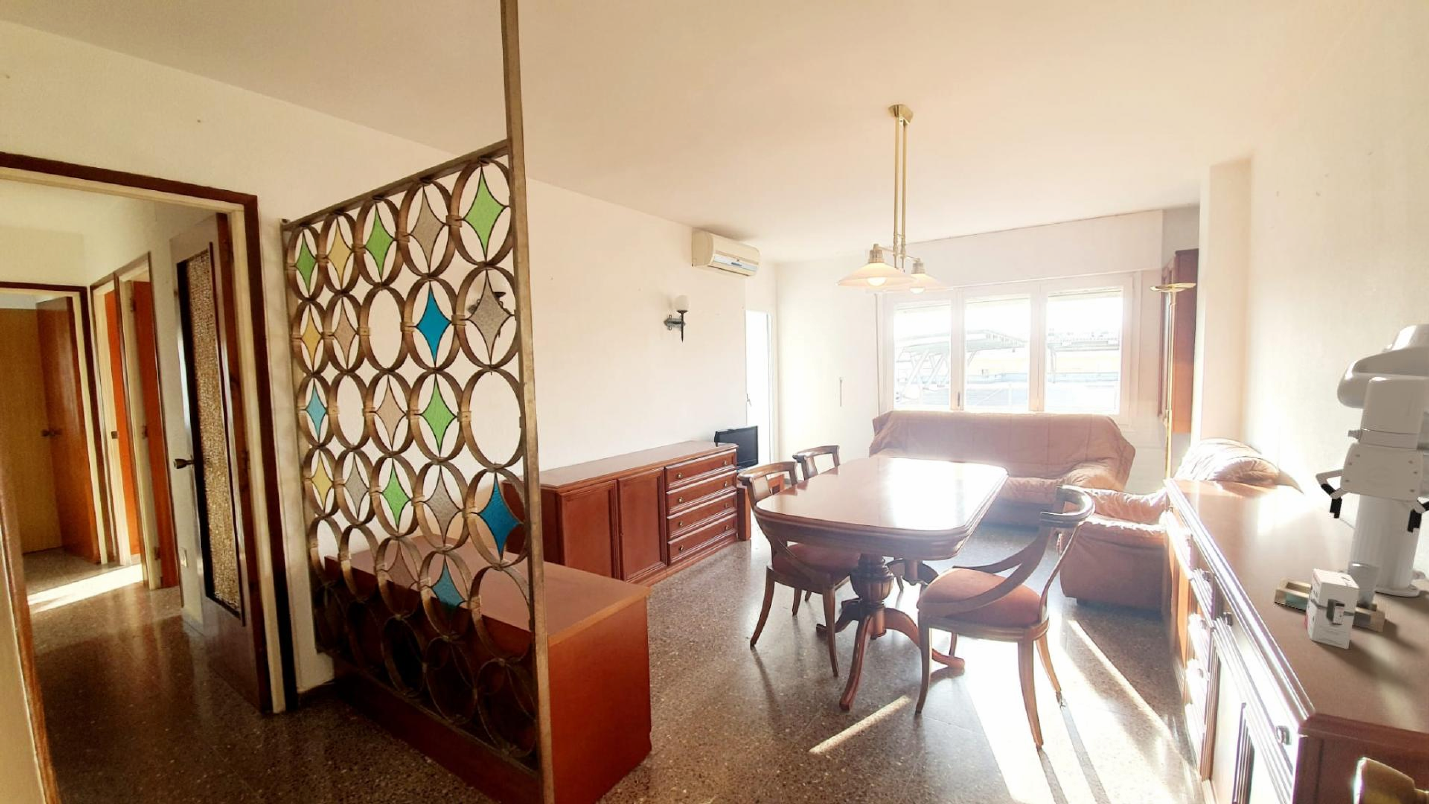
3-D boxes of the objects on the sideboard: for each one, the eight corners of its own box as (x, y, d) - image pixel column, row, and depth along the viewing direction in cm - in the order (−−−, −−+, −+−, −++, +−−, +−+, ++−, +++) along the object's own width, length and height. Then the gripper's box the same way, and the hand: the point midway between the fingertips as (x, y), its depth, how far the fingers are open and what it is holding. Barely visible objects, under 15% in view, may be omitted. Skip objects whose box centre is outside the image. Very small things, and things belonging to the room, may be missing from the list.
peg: (1351, 612, 117) (1360, 561, 116) (1375, 621, 113) (1385, 569, 112) (1333, 612, 117) (1343, 561, 115) (1357, 622, 113) (1367, 569, 111)
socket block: (1273, 602, 120) (1275, 589, 120) (1280, 590, 126) (1282, 577, 126) (1381, 633, 109) (1384, 618, 108) (1383, 617, 115) (1385, 603, 115)
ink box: (1302, 623, 112) (1312, 566, 110) (1338, 632, 109) (1349, 573, 107) (1310, 640, 105) (1321, 580, 103) (1349, 650, 102) (1360, 588, 100)
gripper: (1321, 434, 114) (1307, 515, 117) (1461, 450, 101) (1443, 541, 103) (1324, 431, 119) (1311, 509, 121) (1458, 445, 106) (1441, 532, 108)
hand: (1371, 523), depth 112 cm, fingers open, 9 cm apart
